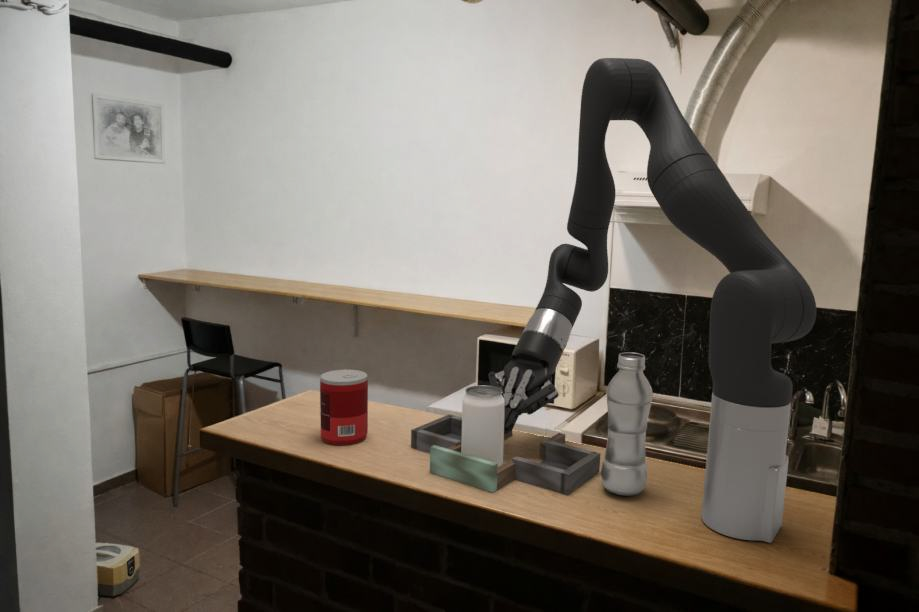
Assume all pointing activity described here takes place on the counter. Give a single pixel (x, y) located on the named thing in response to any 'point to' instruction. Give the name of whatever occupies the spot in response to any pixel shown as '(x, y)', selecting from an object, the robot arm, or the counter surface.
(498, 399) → the can
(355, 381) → the canned food
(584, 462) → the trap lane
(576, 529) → the counter surface
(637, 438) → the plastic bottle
